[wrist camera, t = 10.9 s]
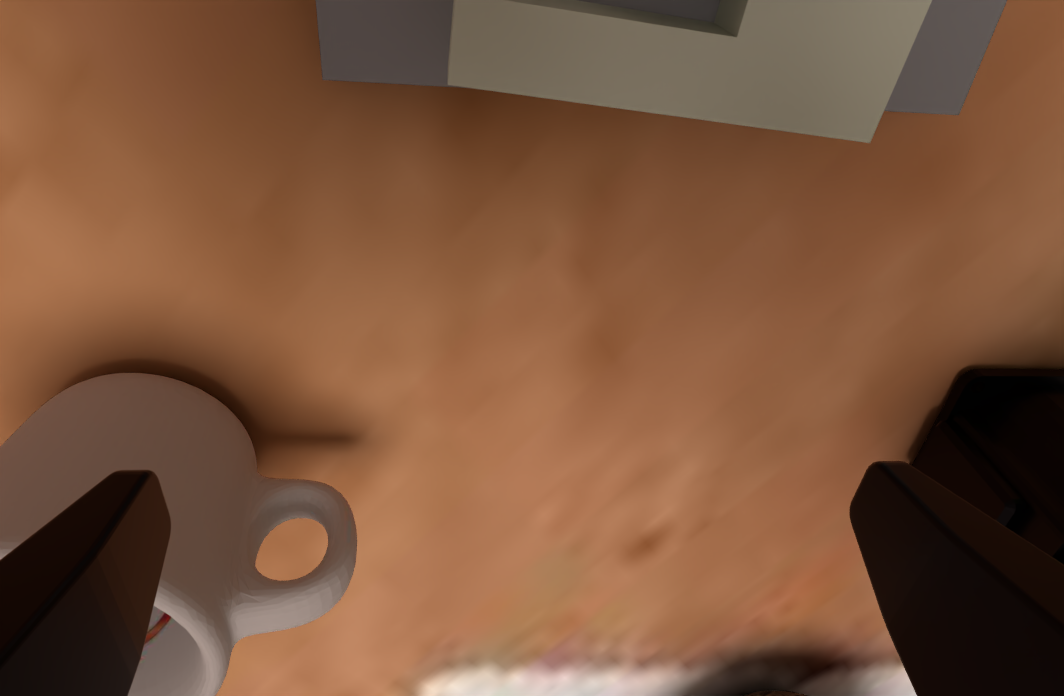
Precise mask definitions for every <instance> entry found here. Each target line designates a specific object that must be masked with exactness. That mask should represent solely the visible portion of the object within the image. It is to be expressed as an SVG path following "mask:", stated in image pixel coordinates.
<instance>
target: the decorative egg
mask: <svg viewBox="0 0 1064 696" xmlns="http://www.w3.org/2000/svg"><path fill="white" fill-rule="evenodd" d="M743 696H807V695H804V694H799V693H795V692H790V691H759V692H754V693H750V694H746V695H743Z"/></svg>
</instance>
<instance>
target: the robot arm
mask: <svg viewBox="0 0 1064 696" xmlns="http://www.w3.org/2000/svg"><path fill="white" fill-rule="evenodd" d="M850 520H851V524H852V527H853V530H854V533H855V536H856V539H857V542H858V545H859V548H860V551H861V554H862V557H863V560H864V563H865V566H866V569H867V572H868V575H869V578H870V581H871V584H872V587H873V590H874V593H875V596H876V599H877V602H878V605H879V608H880V610H881V613H882V616H883V619H884V621H885V624H886V627H887V629H888V631H889V634H890V636H891V639H892V641H893V643H894V646H895V648H896V650H897V652H898V654H899V657H900V659H901V661H902V663H903V666H904V668H905V670H906V672H907V674H908V677H909V679H910V681H911V683H912V686H913V688H914V690H915V692H916V694H917V696H1064V370H1053V369H973V370H970V371H968V372H966V373H964V374H963V375H962V376H961V377H960V378H959V379H958V381H957V383H956V384H955V386H954V388H953V390H952V392H951V394H950V396H949V398H948V399H947V401H946V403H945V405H944V407H943V409H942V411H941V412H940V414H939V416H938V418H937V420H936V422H935V424H934V426H933V427H932V429H931V431H930V433H929V435H928V437H927V439H926V441H925V442H924V444H923V446H922V448H921V450H920V452H919V454H918V456H917V457H916V459H915V461H914V463H913V465H912V466H911V465H910V464H908V463H905V462H901V461H878V462H874V463H873V464H871V465H870V466H869V467H868V469H867V470H866V472H865V474H864V477H863V479H862V481H861V483H860V485H859V487H858V489H857V491H856V493H855V495H854V497H853V499H852V502H851V505H850ZM170 534H171V518H170V514H169V510H168V507H167V504H166V501H165V498H164V495H163V491H162V488H161V485H160V482H159V479H158V477H157V475H156V474H155V473H154V472H153V471H151V470H118V471H115V472H113V473H111V474H110V475H108V476H107V477H106V478H104V479H103V480H102V481H100V482H99V483H98V484H97V485H95V486H94V487H93V488H91V489H90V490H89V491H88V492H86V493H85V494H84V495H83V496H81V497H80V498H79V499H77V500H76V501H75V502H74V503H72V504H71V505H70V506H68V507H67V508H66V509H65V510H63V511H62V512H61V513H59V514H58V515H57V516H56V517H54V518H53V519H52V520H50V521H49V522H48V523H47V524H45V525H44V526H43V527H42V528H40V529H39V530H38V531H36V532H35V533H34V534H33V535H31V536H30V537H29V538H27V539H26V540H25V541H24V542H22V543H21V544H20V545H18V546H17V547H16V548H15V549H13V550H12V551H11V552H9V553H8V554H7V555H6V556H4V557H3V558H2V559H1V560H0V696H128V694H129V691H130V688H131V685H132V683H133V680H134V677H135V674H136V671H137V668H138V665H139V662H140V659H141V655H142V651H143V647H144V644H145V640H146V636H147V632H148V627H149V623H150V619H151V615H152V611H153V606H154V602H155V598H156V594H157V590H158V585H159V581H160V577H161V573H162V569H163V564H164V560H165V556H166V552H167V548H168V543H169V539H170Z"/></svg>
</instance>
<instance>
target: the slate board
mask: <svg viewBox="0 0 1064 696" xmlns="http://www.w3.org/2000/svg"><path fill="white" fill-rule="evenodd" d="M453 1H454V0H316V10H317V21H318V32H319V44H320V55H321V67H322V78H323V80H334V81H352V82H370V83H388V84H406V85H424V86H442V87H460V86H453V85H448V58H449V47H450V36H451V24H452V13H453ZM578 1H584V2H591V3H597V4H603V5H609V6H615V7H621V8H627V9H633V10H640V11H646V12H652V13H658V14H664V15H670V16H676V17H682V18H689V19H695V20H701V21H707V22H713V23H714V21H715V18H716V14H717V10H718V7H719V3H720V0H578ZM1006 2H1007V0H932V2H931V4H930V6H929V9H928V11H927V13H926V16H925V18H924V20H923V22H922V25H921V27H920V29H919V32H918V34H917V36H916V39H915V41H914V43H913V45H912V48H911V50H910V52H909V55H908V57H907V59H906V61H905V64H904V66H903V68H902V71H901V73H900V75H899V78H898V80H897V82H896V84H895V87H894V89H893V91H892V94H891V96H890V98H889V101H888V103H887V105H886V107H885V110H884V111H893V112H911V113H929V114H947V115H959V113H960V111H961V108H962V106H963V104H964V101H965V99H966V97H967V94H968V92H969V89H970V87H971V85H972V82H973V80H974V78H975V75H976V73H977V70H978V68H979V66H980V63H981V61H982V59H983V56H984V54H985V51H986V49H987V47H988V44H989V42H990V40H991V37H992V35H993V32H994V30H995V28H996V25H997V23H998V21H999V18H1000V16H1001V14H1002V11H1003V9H1004V6H1005V4H1006ZM460 88H467V87H460Z"/></svg>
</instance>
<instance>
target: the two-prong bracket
mask: <svg viewBox="0 0 1064 696" xmlns="http://www.w3.org/2000/svg"><path fill="white" fill-rule="evenodd" d="M931 2H932V0H720V3H719V7H718V10H717V14H716V18H715V21H714V23H713V22H707V21H701V20H695V19H689V18H682V17H676V16H670V15H664V14H658V13H652V12H646V11H640V10H633V9H627V8H621V7H615V6H609V5H603V4H597V3H591V2H584V1H578V0H454V1H453V13H452V24H451V36H450V47H449V58H448V85H453V86H460V87H467V88H474V89H481V90H489V91H496V92H503V93H510V94H518V95H525V96H532V97H539V98H547V99H554V100H561V101H568V102H576V103H583V104H590V105H597V106H605V107H612V108H619V109H626V110H634V111H641V112H648V113H655V114H662V115H670V116H677V117H684V118H691V119H699V120H706V121H713V122H720V123H728V124H735V125H742V126H749V127H757V128H764V129H771V130H778V131H786V132H793V133H800V134H807V135H815V136H822V137H829V138H836V139H843V140H851V141H858V142H865V143H870V142H871V140H872V137H873V135H874V133H875V130H876V128H877V126H878V123H879V121H880V119H881V117H882V114H883V112H884V110H885V107H886V105H887V103H888V101H889V98H890V96H891V94H892V91H893V89H894V87H895V84H896V82H897V80H898V78H899V75H900V73H901V71H902V68H903V66H904V64H905V61H906V59H907V57H908V55H909V52H910V50H911V48H912V45H913V43H914V41H915V39H916V36H917V34H918V32H919V29H920V27H921V25H922V22H923V20H924V18H925V16H926V13H927V11H928V9H929V6H930V4H931Z"/></svg>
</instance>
